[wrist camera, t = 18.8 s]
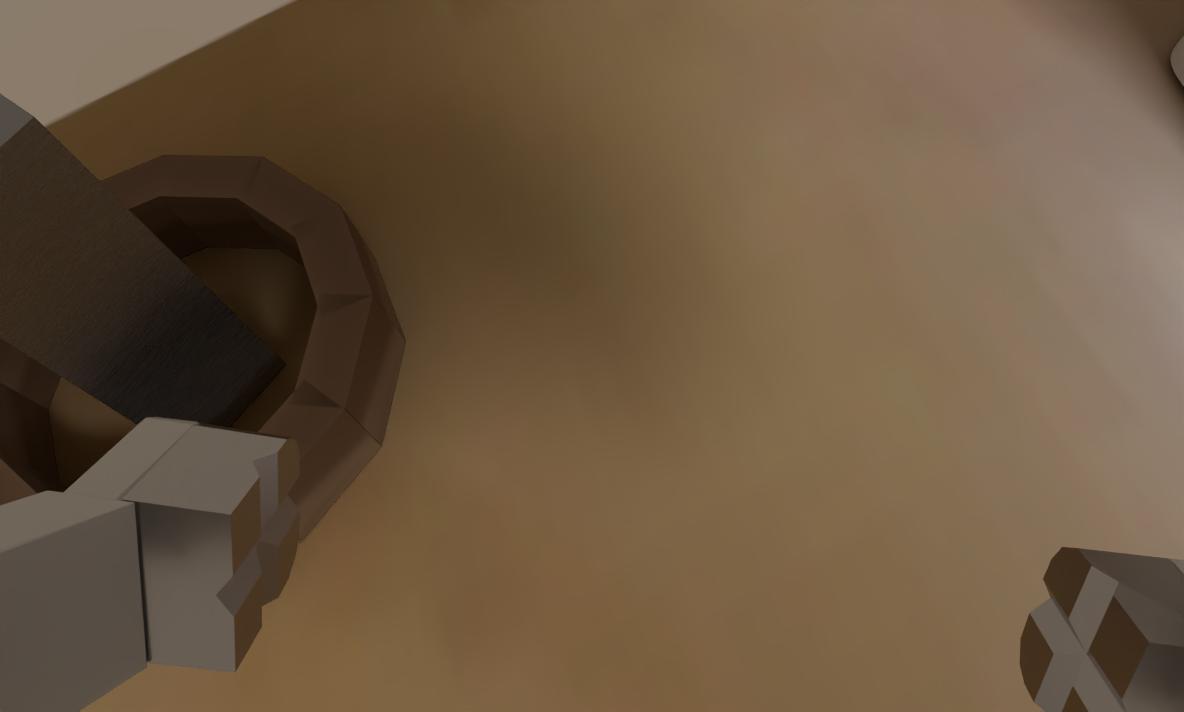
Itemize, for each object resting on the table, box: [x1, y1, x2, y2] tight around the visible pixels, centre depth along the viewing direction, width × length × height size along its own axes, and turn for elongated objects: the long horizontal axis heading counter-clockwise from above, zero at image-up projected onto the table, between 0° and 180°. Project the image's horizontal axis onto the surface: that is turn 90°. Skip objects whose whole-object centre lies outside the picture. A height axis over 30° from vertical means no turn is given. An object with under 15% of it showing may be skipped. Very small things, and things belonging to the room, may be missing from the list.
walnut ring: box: [0, 155, 405, 543], centre depth 28 cm, size 13×13×3 cm
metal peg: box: [0, 94, 286, 428], centre depth 24 cm, size 4×4×12 cm
